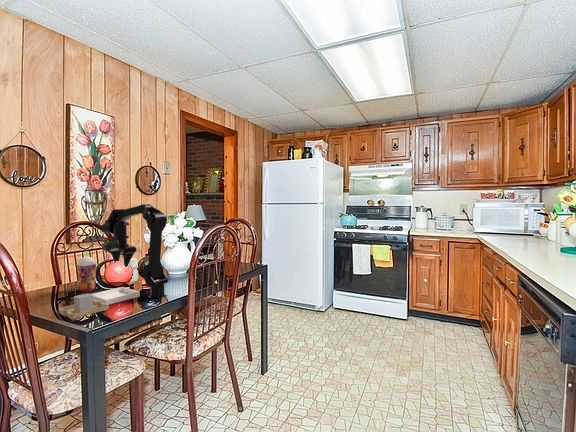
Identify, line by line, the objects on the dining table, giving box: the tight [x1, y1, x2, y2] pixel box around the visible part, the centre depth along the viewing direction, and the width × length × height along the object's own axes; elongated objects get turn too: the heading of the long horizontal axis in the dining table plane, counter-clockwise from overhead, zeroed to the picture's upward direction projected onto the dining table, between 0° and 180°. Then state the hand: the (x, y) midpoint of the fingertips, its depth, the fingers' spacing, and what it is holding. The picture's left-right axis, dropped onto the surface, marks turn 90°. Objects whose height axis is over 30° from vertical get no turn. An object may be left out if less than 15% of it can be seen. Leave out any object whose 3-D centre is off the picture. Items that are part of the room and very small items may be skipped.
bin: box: [90, 286, 140, 306], centre depth 147 cm, size 15×15×2 cm
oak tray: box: [58, 300, 110, 321], centre depth 130 cm, size 13×13×2 cm
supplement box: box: [121, 257, 139, 284], centre depth 177 cm, size 7×7×13 cm
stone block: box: [73, 292, 94, 313], centre depth 130 cm, size 5×5×6 cm
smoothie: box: [76, 250, 97, 293], centre depth 160 cm, size 8×8×20 cm
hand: (121, 265), depth 158 cm, fingers open, 9 cm apart
